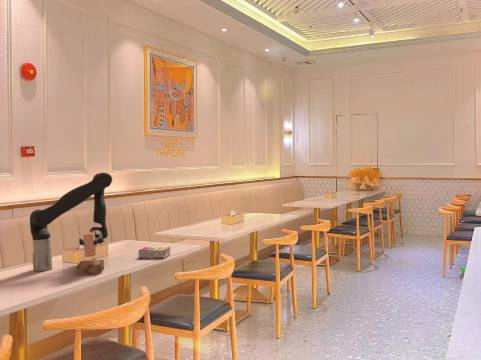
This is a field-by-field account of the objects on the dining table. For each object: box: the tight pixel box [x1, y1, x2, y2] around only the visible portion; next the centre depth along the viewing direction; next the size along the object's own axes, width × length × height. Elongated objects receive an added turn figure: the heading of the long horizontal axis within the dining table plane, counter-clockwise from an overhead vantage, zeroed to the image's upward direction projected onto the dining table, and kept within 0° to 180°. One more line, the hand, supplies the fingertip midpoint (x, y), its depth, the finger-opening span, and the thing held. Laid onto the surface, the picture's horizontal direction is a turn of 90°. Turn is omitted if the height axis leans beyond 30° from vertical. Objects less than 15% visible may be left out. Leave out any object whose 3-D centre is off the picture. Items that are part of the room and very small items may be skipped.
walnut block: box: [76, 259, 105, 276], centre depth 267 cm, size 12×12×5 cm
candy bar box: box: [138, 246, 171, 259], centre depth 301 cm, size 11×5×16 cm
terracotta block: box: [82, 232, 97, 258], centre depth 266 cm, size 5×5×12 cm
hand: (88, 243), depth 264 cm, fingers closed on terracotta block, 5 cm apart
